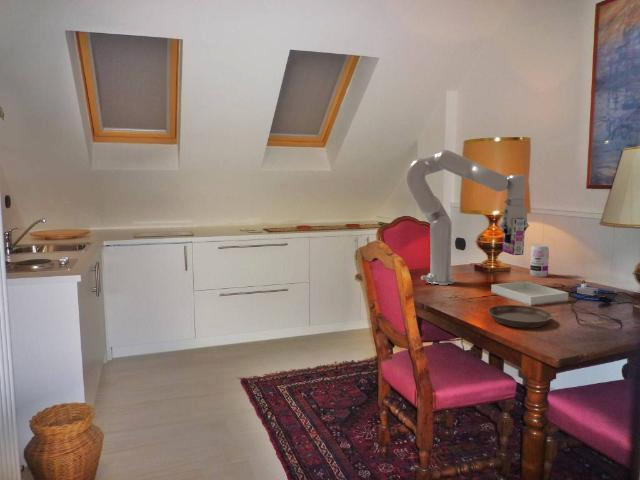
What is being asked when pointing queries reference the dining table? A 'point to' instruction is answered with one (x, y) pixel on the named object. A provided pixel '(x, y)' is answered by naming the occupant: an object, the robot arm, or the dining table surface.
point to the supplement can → (539, 260)
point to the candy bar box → (515, 238)
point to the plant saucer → (520, 316)
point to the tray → (529, 293)
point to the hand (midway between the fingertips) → (513, 242)
